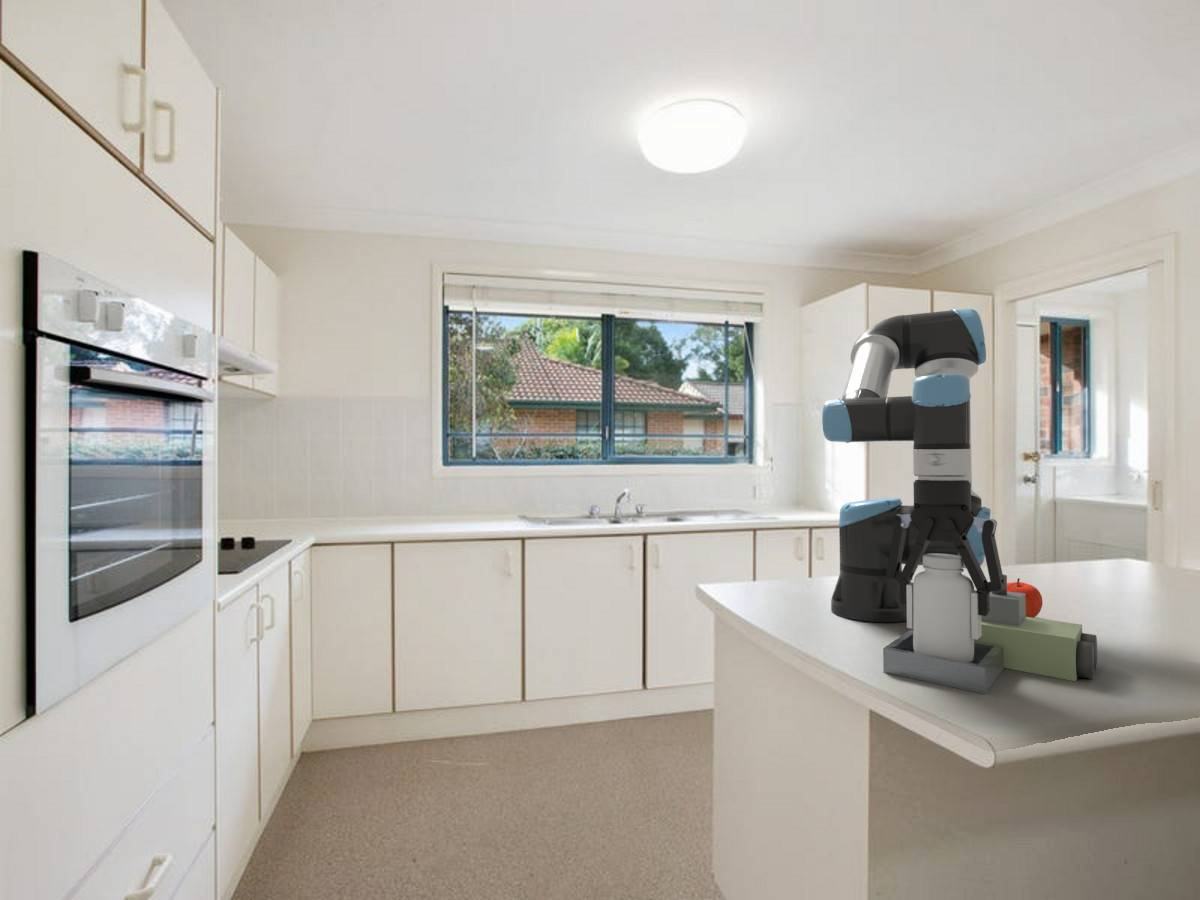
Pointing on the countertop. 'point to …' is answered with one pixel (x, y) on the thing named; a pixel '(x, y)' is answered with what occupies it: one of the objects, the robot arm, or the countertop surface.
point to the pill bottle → (943, 609)
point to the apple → (1028, 597)
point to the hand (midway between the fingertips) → (943, 631)
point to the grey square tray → (945, 665)
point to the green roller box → (1037, 639)
